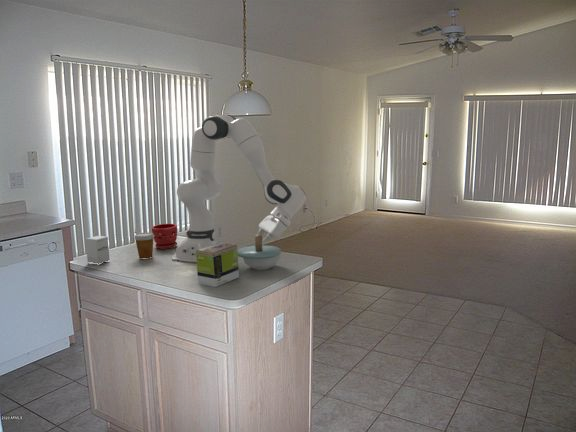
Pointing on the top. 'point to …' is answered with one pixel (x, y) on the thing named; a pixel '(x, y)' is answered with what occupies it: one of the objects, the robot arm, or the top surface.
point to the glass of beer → (144, 244)
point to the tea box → (217, 264)
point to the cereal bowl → (262, 262)
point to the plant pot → (165, 235)
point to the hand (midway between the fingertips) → (259, 240)
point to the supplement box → (97, 249)
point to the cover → (258, 250)
